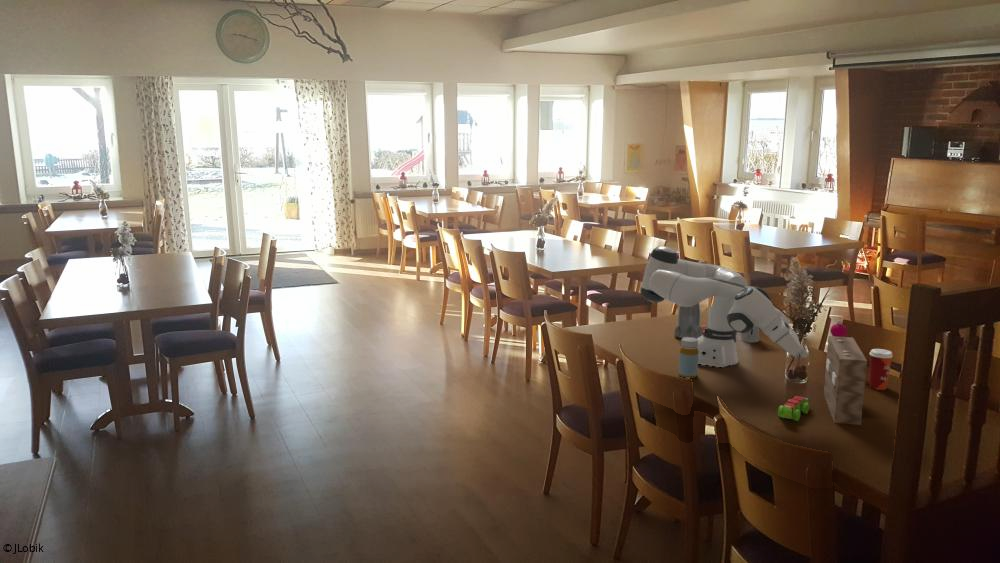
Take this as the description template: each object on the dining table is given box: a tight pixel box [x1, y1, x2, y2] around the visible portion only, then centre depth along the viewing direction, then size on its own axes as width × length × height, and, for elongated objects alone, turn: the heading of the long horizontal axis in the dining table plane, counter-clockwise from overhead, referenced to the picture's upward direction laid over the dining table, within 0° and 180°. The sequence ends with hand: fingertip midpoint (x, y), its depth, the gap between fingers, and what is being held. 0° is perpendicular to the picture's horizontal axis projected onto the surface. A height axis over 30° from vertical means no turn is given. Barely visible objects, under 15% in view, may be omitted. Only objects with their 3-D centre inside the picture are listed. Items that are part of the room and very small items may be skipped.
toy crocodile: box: [777, 395, 810, 422], centre depth 246 cm, size 20×7×6 cm, turn 138°
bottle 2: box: [678, 337, 699, 379], centre depth 283 cm, size 7×7×15 cm
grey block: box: [825, 359, 830, 372], centre depth 255 cm, size 6×5×3 cm
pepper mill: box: [825, 320, 848, 360], centre depth 288 cm, size 7×7×20 cm
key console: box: [823, 335, 868, 426], centre depth 248 cm, size 8×26×22 cm, turn 164°
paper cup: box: [868, 348, 893, 391], centre depth 268 cm, size 8×8×14 cm
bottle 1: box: [674, 303, 703, 339], centre depth 332 cm, size 13×13×28 cm
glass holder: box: [738, 326, 760, 343], centre depth 326 cm, size 9×14×15 cm, turn 148°
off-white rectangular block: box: [832, 372, 837, 386], centre depth 242 cm, size 6×5×3 cm
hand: (805, 355), depth 244 cm, fingers closed
